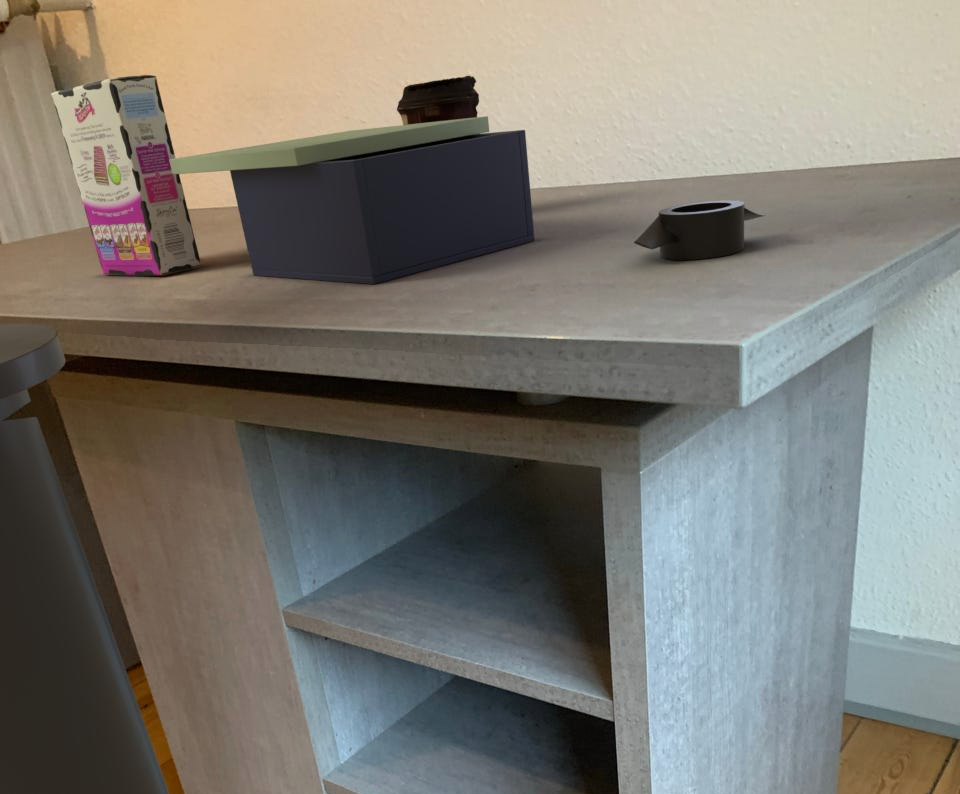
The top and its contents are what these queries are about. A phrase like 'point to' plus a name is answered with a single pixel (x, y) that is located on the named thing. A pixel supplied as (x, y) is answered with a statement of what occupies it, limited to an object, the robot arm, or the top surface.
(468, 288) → the top surface
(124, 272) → the candy bar box
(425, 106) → the dark brown block
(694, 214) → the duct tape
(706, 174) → the top surface
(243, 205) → the bin
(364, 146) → the bin lid
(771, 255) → the top surface
